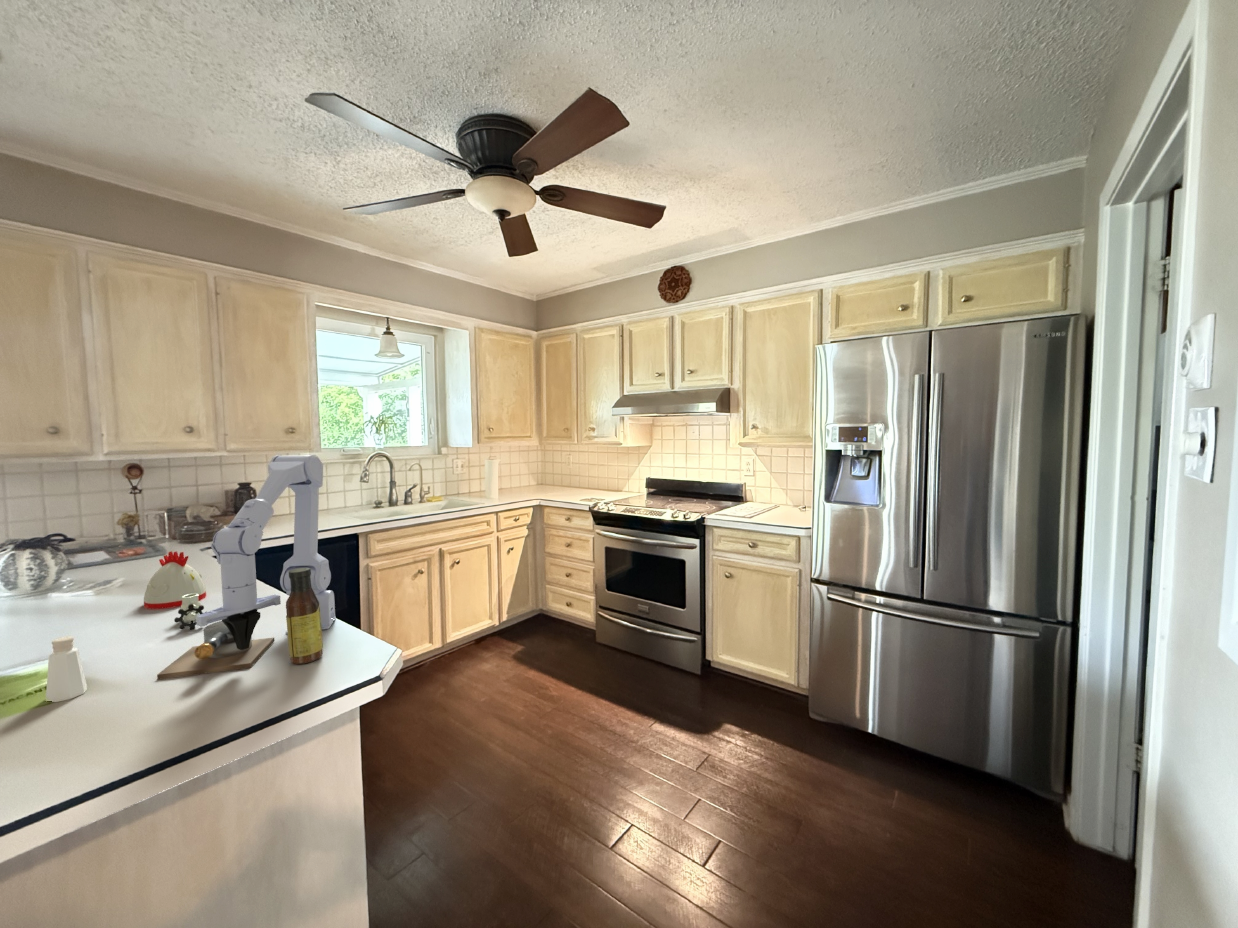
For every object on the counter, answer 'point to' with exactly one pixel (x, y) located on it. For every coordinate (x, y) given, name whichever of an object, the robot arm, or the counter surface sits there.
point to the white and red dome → (173, 583)
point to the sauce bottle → (303, 619)
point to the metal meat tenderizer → (213, 639)
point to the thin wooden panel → (217, 660)
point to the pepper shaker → (65, 671)
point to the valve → (189, 611)
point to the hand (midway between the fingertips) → (243, 647)
